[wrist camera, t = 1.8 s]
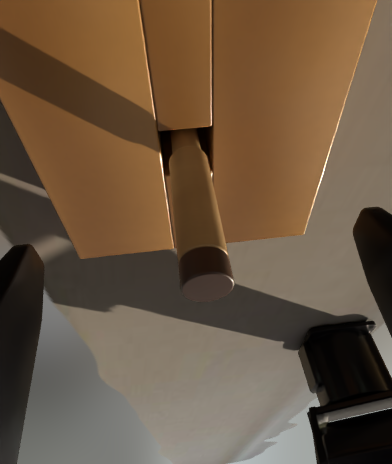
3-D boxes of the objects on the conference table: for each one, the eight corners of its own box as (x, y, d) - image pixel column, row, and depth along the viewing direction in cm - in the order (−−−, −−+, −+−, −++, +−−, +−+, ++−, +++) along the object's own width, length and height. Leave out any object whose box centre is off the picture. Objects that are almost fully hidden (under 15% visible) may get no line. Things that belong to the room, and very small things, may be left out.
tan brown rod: (194, 86, 13) (235, 270, 8) (195, 115, 14) (233, 299, 9) (161, 89, 13) (178, 276, 8) (165, 118, 14) (182, 305, 8)
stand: (338, -77, 10) (395, -55, 8) (283, 186, 18) (304, 234, 16) (-15, -52, 10) (-63, -22, 7) (87, 206, 18) (79, 259, 15)
